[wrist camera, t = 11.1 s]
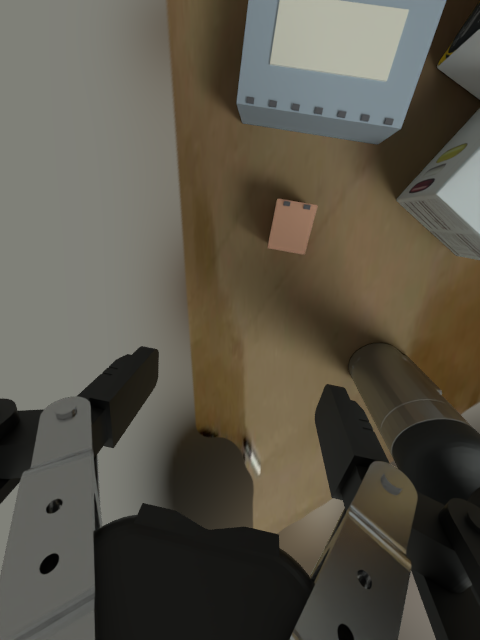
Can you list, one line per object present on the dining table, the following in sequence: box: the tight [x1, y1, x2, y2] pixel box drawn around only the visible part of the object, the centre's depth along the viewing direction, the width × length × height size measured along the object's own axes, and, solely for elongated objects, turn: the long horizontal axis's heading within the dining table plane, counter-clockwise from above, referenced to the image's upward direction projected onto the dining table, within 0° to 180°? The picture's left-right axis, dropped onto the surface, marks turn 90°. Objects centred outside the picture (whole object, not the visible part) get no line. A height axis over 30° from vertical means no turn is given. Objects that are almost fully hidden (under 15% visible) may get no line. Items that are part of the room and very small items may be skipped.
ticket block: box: [236, 0, 446, 145], centre depth 26 cm, size 18×10×6 cm, turn 81°
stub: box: [268, 199, 318, 255], centre depth 33 cm, size 5×6×6 cm
